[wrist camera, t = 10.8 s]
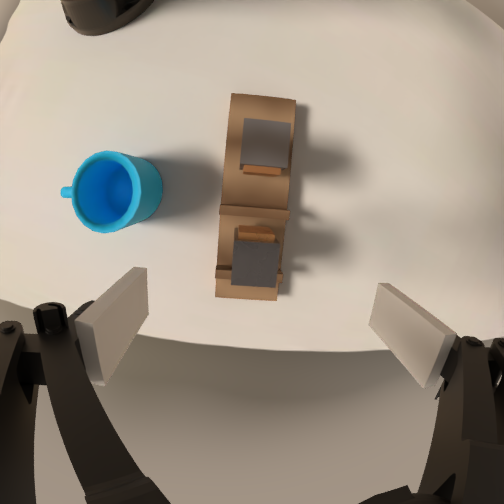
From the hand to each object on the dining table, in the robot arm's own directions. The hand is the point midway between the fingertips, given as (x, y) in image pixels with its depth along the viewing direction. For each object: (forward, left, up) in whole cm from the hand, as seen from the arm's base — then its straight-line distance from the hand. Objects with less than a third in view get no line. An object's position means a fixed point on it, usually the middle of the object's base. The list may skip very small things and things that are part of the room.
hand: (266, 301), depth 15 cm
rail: (-5, 0, -20) cm, 20 cm away
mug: (-5, -17, -20) cm, 27 cm away
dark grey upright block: (+1, 0, -18) cm, 18 cm away
